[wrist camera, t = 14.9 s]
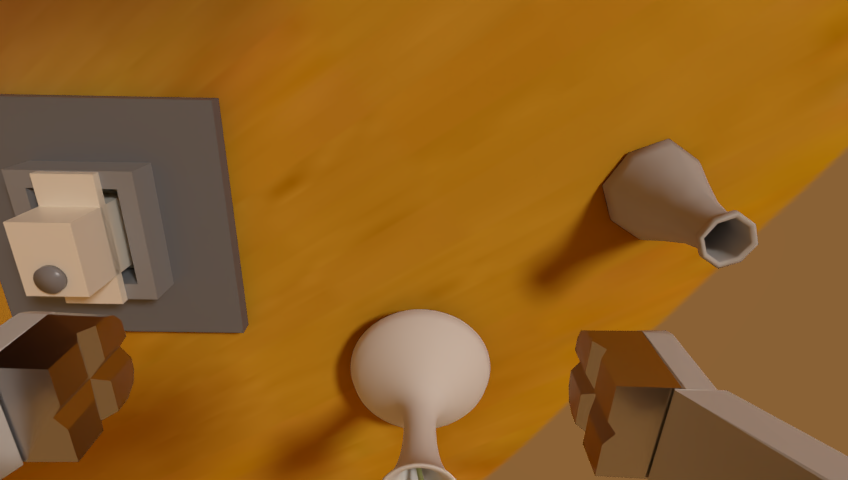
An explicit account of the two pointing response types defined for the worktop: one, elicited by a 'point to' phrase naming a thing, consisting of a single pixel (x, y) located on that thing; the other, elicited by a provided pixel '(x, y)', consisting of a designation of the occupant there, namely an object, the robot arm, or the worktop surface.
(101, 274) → the block
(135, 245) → the plate
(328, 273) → the worktop surface
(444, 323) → the flower in vase
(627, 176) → the flask
